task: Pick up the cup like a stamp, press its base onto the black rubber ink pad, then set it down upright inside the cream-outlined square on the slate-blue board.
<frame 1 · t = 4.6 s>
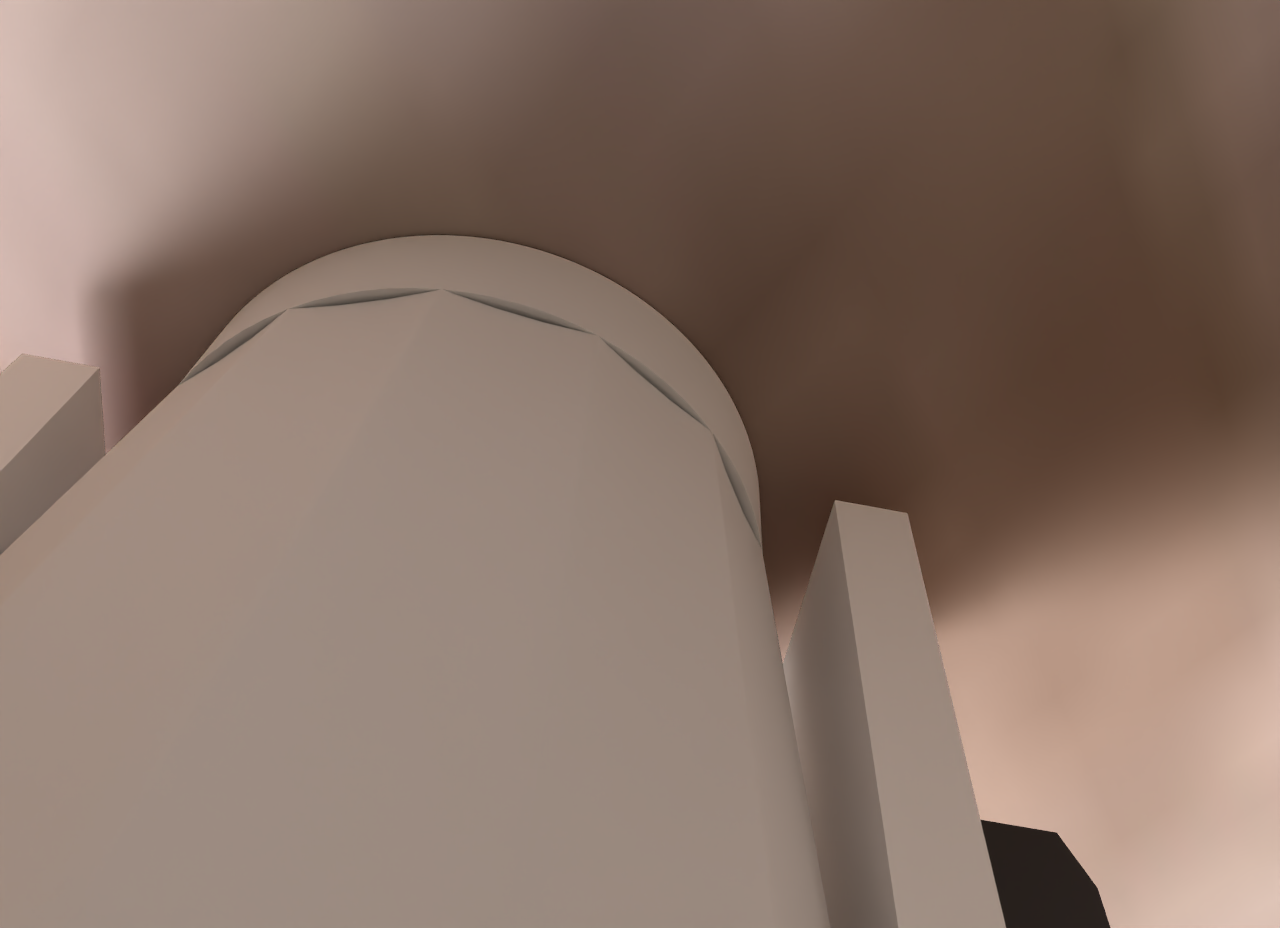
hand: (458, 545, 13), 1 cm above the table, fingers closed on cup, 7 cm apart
cup: (472, 499, 13), on the table, touching gripper
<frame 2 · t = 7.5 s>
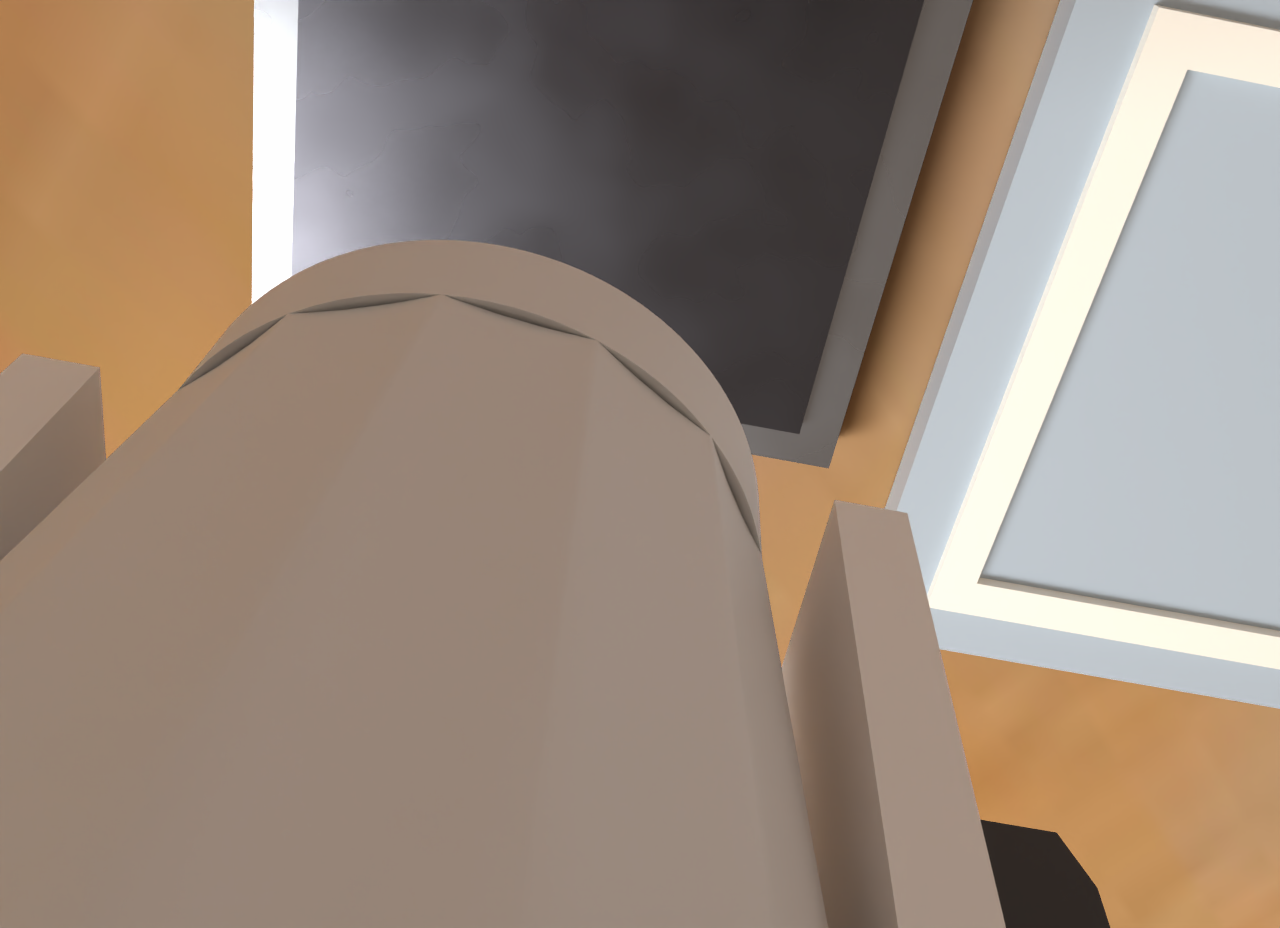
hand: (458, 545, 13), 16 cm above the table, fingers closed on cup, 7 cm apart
cup: (472, 503, 13), point 15 cm above the table, touching gripper
ink pad: (592, 114, 26), on the table
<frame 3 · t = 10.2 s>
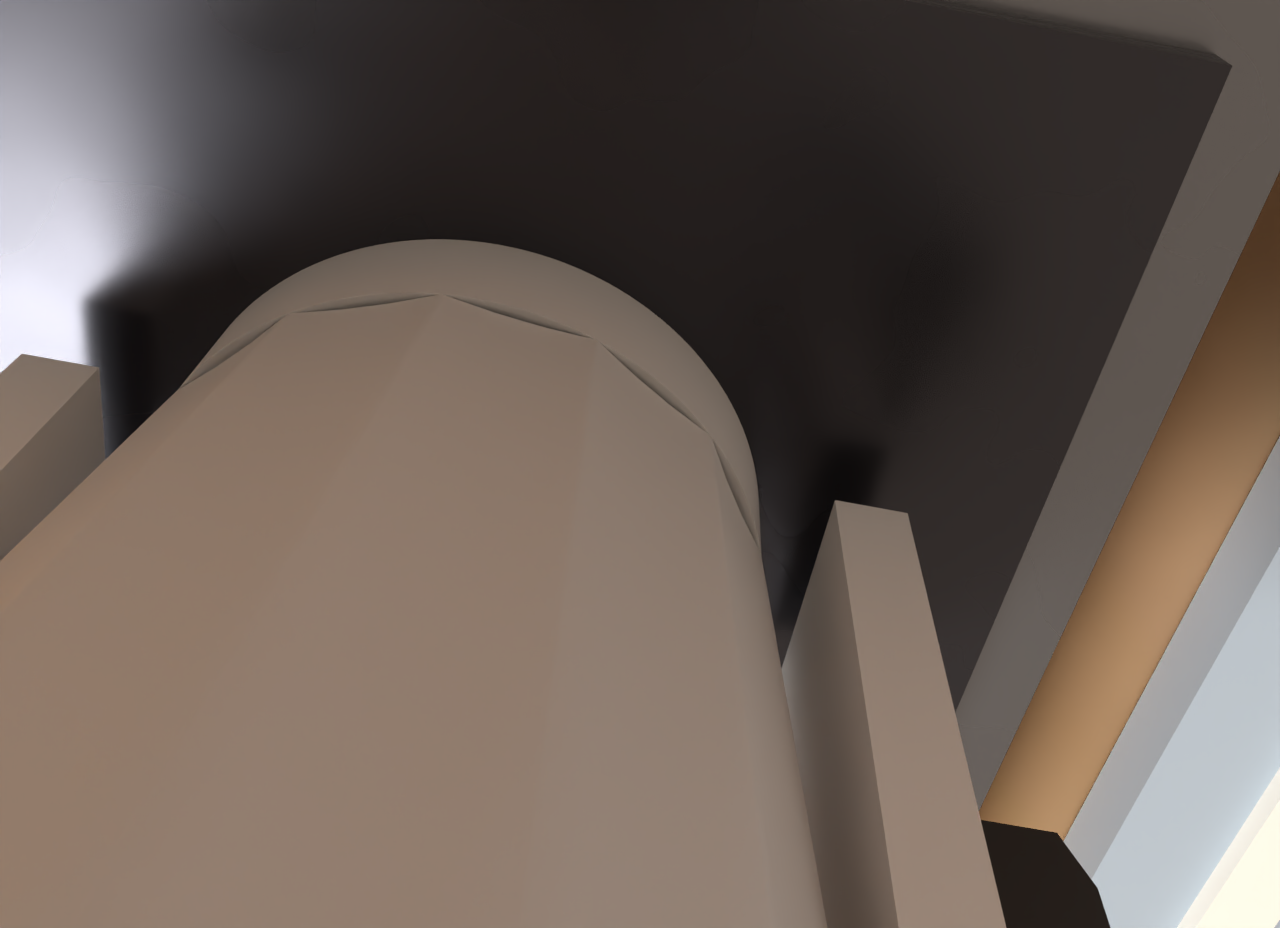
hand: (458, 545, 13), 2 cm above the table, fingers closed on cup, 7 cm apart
cup: (472, 502, 13), point 1 cm above the table, touching gripper, ink pad
ink pad: (492, 437, 15), on the table
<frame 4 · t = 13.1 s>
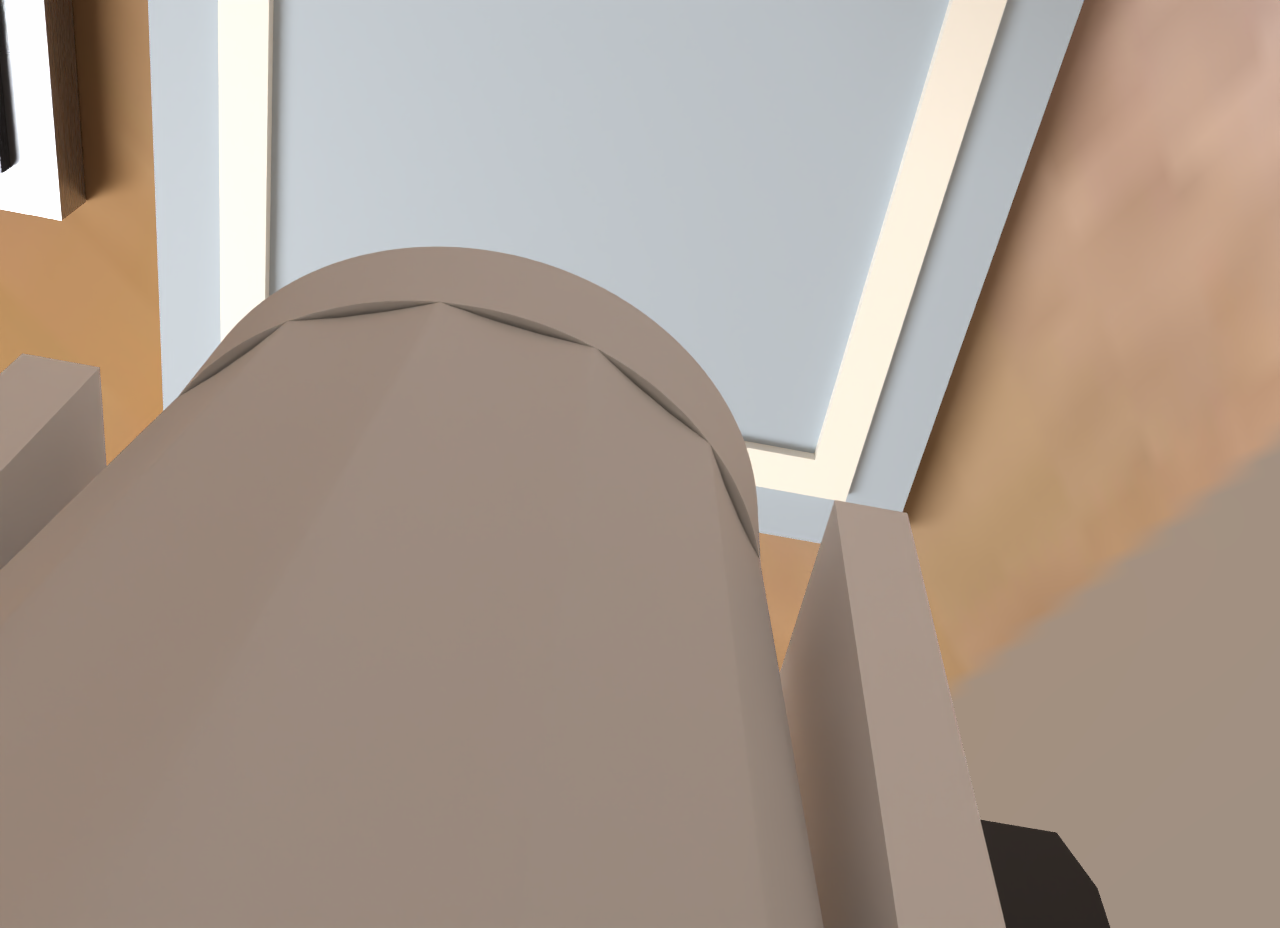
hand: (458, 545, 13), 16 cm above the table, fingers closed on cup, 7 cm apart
cup: (471, 508, 13), point 15 cm above the table, touching gripper
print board: (590, 120, 26), on the table
when the fingers open (3 cm above the table, at t = 15.6 s): cup drops 1 cm, resting on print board.
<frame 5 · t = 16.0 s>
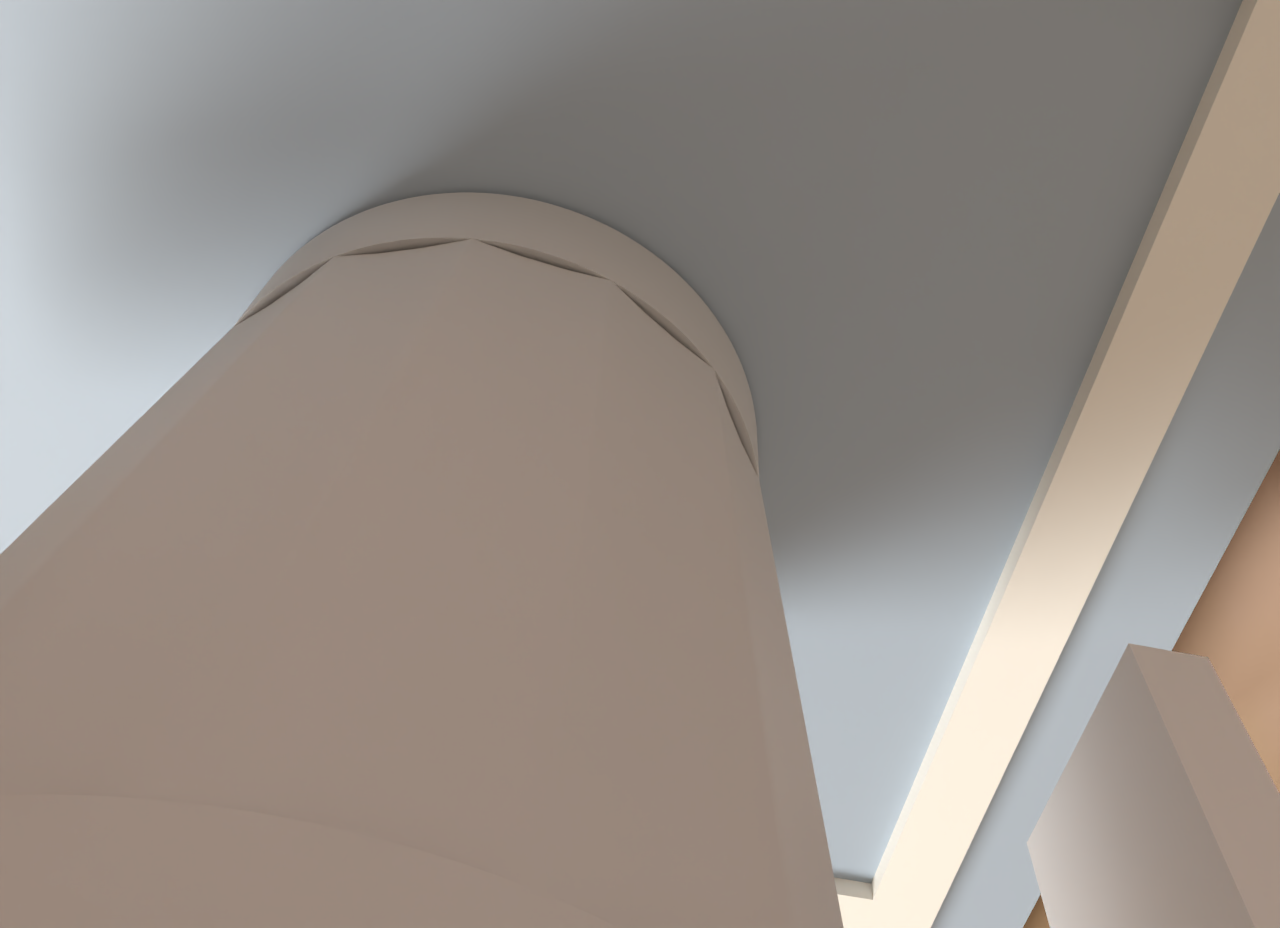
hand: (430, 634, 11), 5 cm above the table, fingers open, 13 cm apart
cup: (494, 438, 15), point 1 cm above the table, touching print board
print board: (503, 401, 15), on the table
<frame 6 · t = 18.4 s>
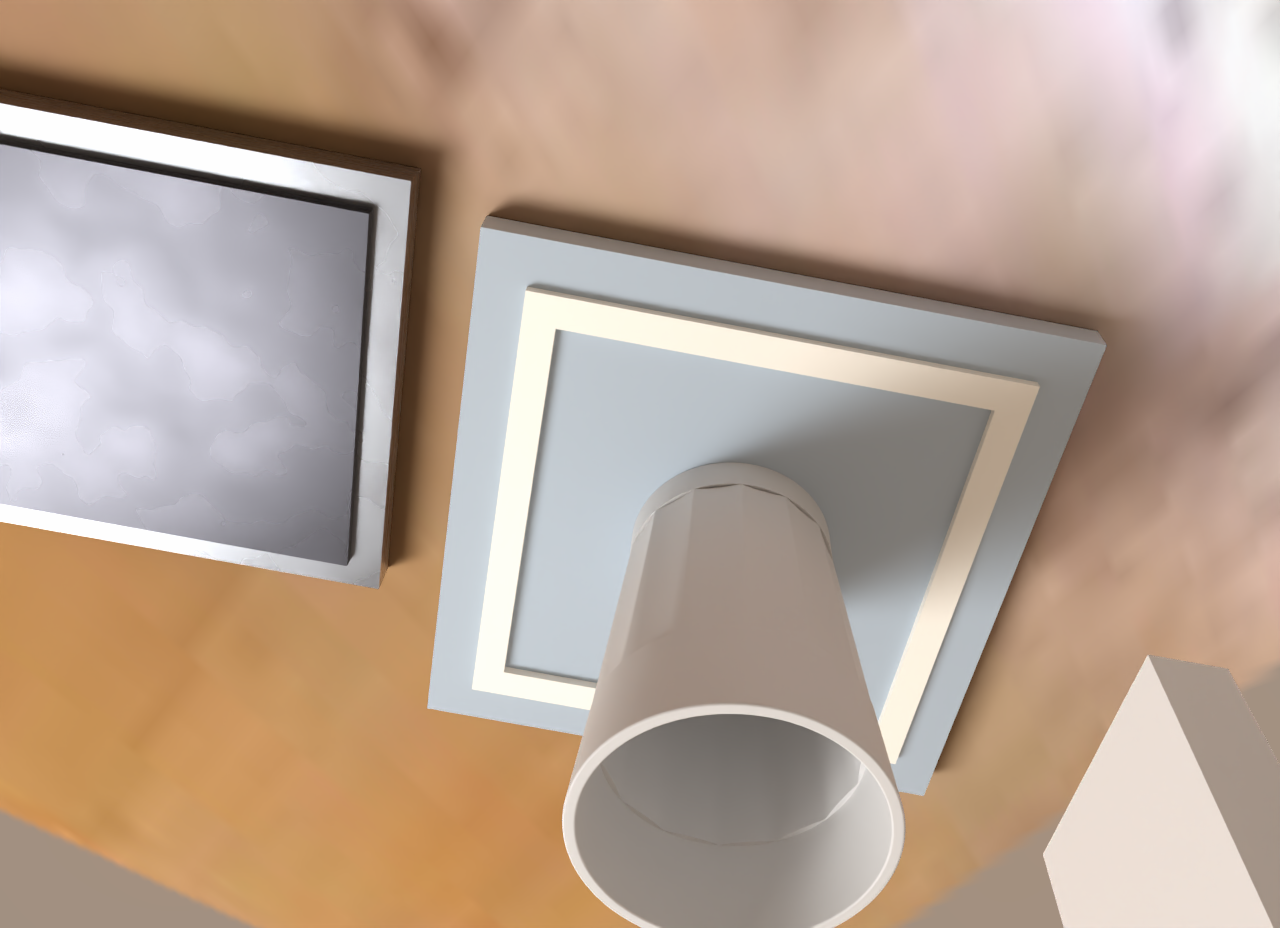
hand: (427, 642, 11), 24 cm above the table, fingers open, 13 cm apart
cup: (730, 544, 39), point 1 cm above the table, touching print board
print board: (729, 529, 39), on the table
ink pad: (178, 345, 37), on the table
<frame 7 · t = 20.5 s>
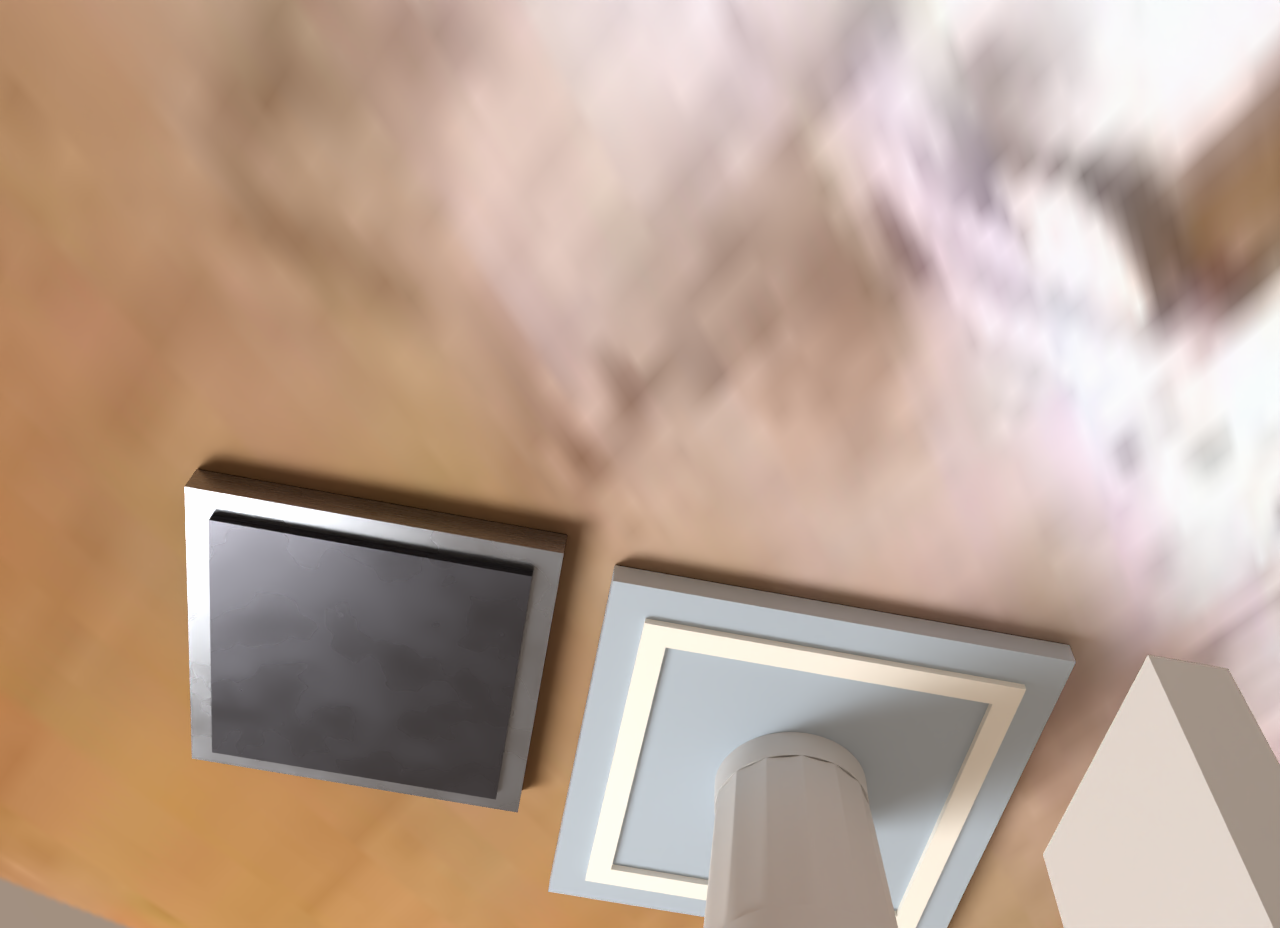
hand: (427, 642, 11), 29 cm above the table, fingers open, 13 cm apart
cup: (789, 784, 51), point 1 cm above the table, touching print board
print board: (788, 768, 51), on the table
ink pad: (372, 643, 49), on the table
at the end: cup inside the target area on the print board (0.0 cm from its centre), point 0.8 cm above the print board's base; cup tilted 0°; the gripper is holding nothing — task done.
